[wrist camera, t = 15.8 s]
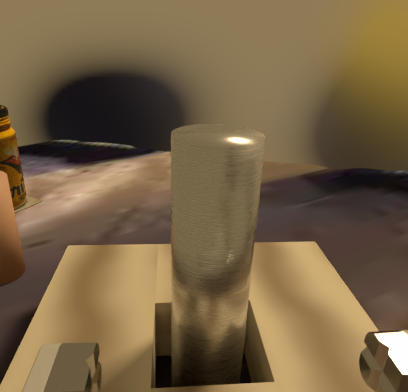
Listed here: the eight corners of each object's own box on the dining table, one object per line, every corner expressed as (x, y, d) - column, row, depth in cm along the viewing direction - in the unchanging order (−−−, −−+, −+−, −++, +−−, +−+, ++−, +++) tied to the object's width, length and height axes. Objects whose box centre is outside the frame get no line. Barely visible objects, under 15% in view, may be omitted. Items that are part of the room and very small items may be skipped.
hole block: (306, 285, 32) (314, 241, 30) (491, 618, 14) (540, 557, 12) (74, 292, 30) (68, 245, 28) (-74, 688, 12) (-119, 628, 10)
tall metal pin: (201, 357, 24) (211, 120, 18) (250, 392, 22) (282, 135, 16) (157, 397, 21) (151, 133, 15) (209, 443, 19) (227, 153, 13)
